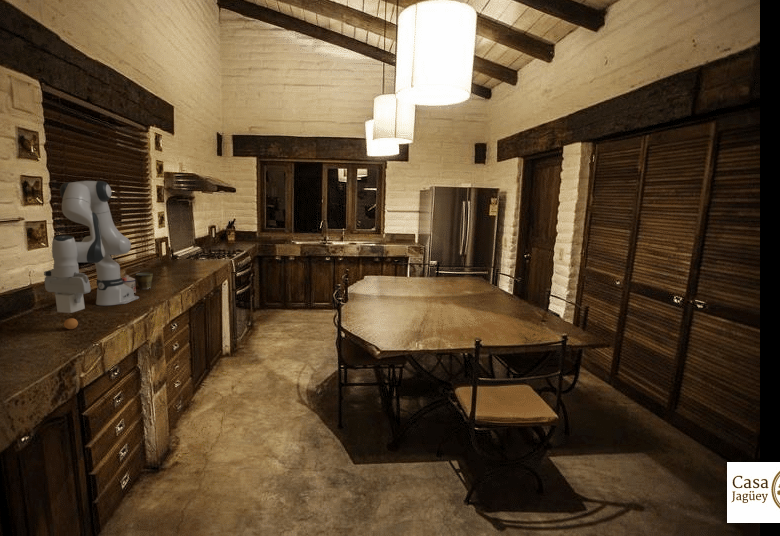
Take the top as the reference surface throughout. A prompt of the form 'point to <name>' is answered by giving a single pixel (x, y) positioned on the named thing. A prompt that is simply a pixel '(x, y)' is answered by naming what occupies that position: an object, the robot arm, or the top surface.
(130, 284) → the teacup with lid
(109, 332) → the top surface
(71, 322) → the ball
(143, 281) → the ceramic cup
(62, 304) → the grey matte cube
